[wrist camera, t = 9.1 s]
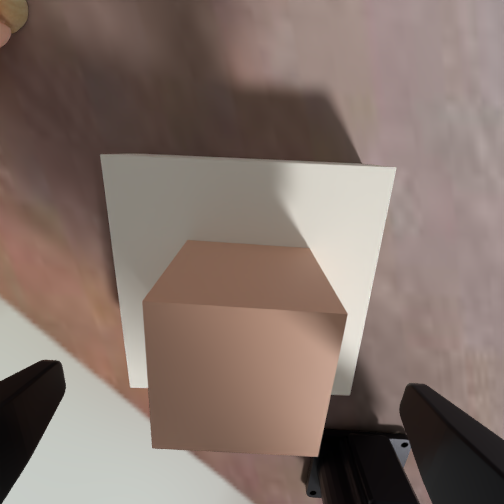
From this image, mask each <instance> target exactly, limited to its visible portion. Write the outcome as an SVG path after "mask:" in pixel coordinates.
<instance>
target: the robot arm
mask: <svg viewBox="0 0 504 504" xmlns="http://www.w3.org/2000/svg"><path fill="white" fill-rule="evenodd" d="M65 389H66V383H65V378H64V373H63V367H62V364H61V362H60V361H56V360H41V361H39V362H37V363H35V364H33V365H31V366H29V367H27V368H26V369H23V370H21V371H20V372H17V373H15V374H14V375H12V376H10V377H8V378H6V379H4V380H2V381H0V504H2V502H3V500H4V499H5V498H6V496H7V495H8V493H9V491H10V490H11V488H12V487H13V485H14V484H15V482H16V481H17V479H18V478H19V476H20V474H21V473H22V471H23V470H24V468H25V466H26V465H27V463H28V461H29V460H30V458H31V456H32V454H33V453H34V451H35V449H36V447H37V445H38V443H39V441H40V440H41V438H42V436H43V434H44V432H45V430H46V428H47V426H48V424H49V422H50V421H51V419H52V417H53V415H54V413H55V411H56V409H57V407H58V405H59V403H60V401H61V400H62V398H63V396H64V393H65ZM399 411H400V416H401V420H402V423H403V425H404V428H405V431H406V434H407V435H405V434H392V433H376V432H360V431H344V430H327V429H324V430H323V435H322V440H321V444H320V449H319V454H318V457H312V458H311V463H310V468H309V473H308V477H307V482H306V494H307V495H308V496H309V497H314V498H322V501H323V504H420V503H419V501H418V498H417V496H416V494H415V492H414V490H413V488H412V486H411V484H410V481H409V479H408V477H407V475H406V473H405V471H404V469H403V468H404V465H405V463H406V460H407V457H408V455H409V452H410V449H412V452H413V455H414V457H415V460H416V463H417V466H418V469H419V472H420V475H421V477H422V480H423V483H424V485H425V487H426V490H427V492H428V494H429V497H430V499H431V501H432V504H504V440H503V439H502V438H500V437H499V436H497V435H496V434H495V433H493V432H492V431H490V430H489V429H488V428H486V427H485V426H483V425H482V424H481V423H479V422H478V421H476V420H475V419H474V418H472V417H471V416H469V415H468V414H467V413H465V412H464V411H462V410H461V409H460V408H458V407H457V406H455V405H454V404H452V403H451V402H450V401H448V400H447V399H445V398H444V397H443V396H441V395H440V394H438V393H437V392H436V391H434V390H433V389H431V388H430V387H429V386H427V385H425V384H418V383H409V384H408V385H407V386H406V388H405V391H404V394H403V397H402V400H401V403H400V408H399Z"/></svg>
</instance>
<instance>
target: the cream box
mask: <svg viewBox="0 0 504 504" xmlns="http://www.w3.org/2000/svg"><path fill="white" fill-rule="evenodd" d="M100 158H101V165H102V173H103V181H104V189H105V196H106V204H107V212H108V220H109V227H110V235H111V243H112V250H113V258H114V266H115V274H116V281H117V289H118V297H119V304H120V312H121V320H122V328H123V335H124V343H125V351H126V359H127V366H128V374H129V382H130V387H133V388H148V379H147V364H146V350H145V335H144V320H143V306H142V301H143V299H144V298H145V297H146V295H147V294H148V293H149V291H150V290H151V289H152V287H153V286H154V285H155V283H156V282H157V281H158V279H159V278H160V276H161V275H162V274H163V272H164V271H165V270H166V268H167V267H168V266H169V264H170V263H171V262H172V260H173V259H174V257H175V256H176V255H177V253H178V252H179V251H180V249H181V248H182V247H183V245H184V244H185V243H186V241H187V240H195V241H210V242H225V243H240V244H255V245H270V246H285V247H300V248H310V250H311V252H312V253H313V255H314V257H315V258H316V260H317V262H318V264H319V265H320V267H321V269H322V270H323V272H324V274H325V276H326V277H327V279H328V281H329V283H330V284H331V286H332V288H333V289H334V291H335V293H336V295H337V296H338V298H339V300H340V301H341V303H342V305H343V307H344V308H345V310H346V312H347V313H348V316H347V321H346V325H345V330H344V335H343V340H342V344H341V349H340V354H339V359H338V363H337V368H336V373H335V378H334V383H333V387H332V392H331V395H350V393H351V388H352V383H353V378H354V373H355V368H356V363H357V358H358V353H359V348H360V344H361V339H362V334H363V329H364V324H365V319H366V314H367V309H368V304H369V300H370V295H371V290H372V285H373V280H374V275H375V270H376V265H377V260H378V256H379V251H380V246H381V241H382V236H383V231H384V226H385V221H386V216H387V211H388V207H389V202H390V197H391V192H392V187H393V182H394V177H395V172H396V167H387V166H378V165H370V164H360V163H337V162H315V161H293V160H270V159H248V158H226V157H203V156H181V155H159V154H100Z"/></svg>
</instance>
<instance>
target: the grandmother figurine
mask: <svg viewBox="0 0 504 504" xmlns="http://www.w3.org/2000/svg"><path fill="white" fill-rule="evenodd" d="M27 17H28V4H27V2H26V0H0V47H2V46H4V45H5V44H6V43H7V42H8V40H9V38H10V36H11V33H15V32H17V31H18V30H19V29H20V28H21V27H22V26H23V25H24V24H25V23H26V21H27Z"/></svg>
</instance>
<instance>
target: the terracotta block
mask: <svg viewBox="0 0 504 504" xmlns="http://www.w3.org/2000/svg"><path fill="white" fill-rule="evenodd" d="M142 306H143V320H144V335H145V350H146V364H147V379H148V394H149V408H150V423H151V437H152V448H155V449H176V450H194V451H213V452H232V453H251V454H270V455H290V456H309V457H318V454H319V449H320V444H321V440H322V435H323V430H324V425H325V421H326V416H327V411H328V406H329V402H330V397H331V392H332V387H333V383H334V378H335V373H336V368H337V363H338V359H339V354H340V349H341V344H342V340H343V335H344V330H345V325H346V321H347V316H348V313H347V312H346V310H345V308H344V307H343V305H342V303H341V301H340V300H339V298H338V296H337V295H336V293H335V291H334V289H333V288H332V286H331V284H330V283H329V281H328V279H327V277H326V276H325V274H324V272H323V270H322V269H321V267H320V265H319V264H318V262H317V260H316V258H315V257H314V255H313V253H312V252H311V250H310V248H300V247H285V246H270V245H255V244H240V243H225V242H210V241H195V240H187V241H186V243H185V244H184V245H183V247H182V248H181V249H180V251H179V252H178V253H177V255H176V256H175V257H174V259H173V260H172V262H171V263H170V264H169V266H168V267H167V268H166V270H165V271H164V272H163V274H162V275H161V276H160V278H159V279H158V281H157V282H156V283H155V285H154V286H153V287H152V289H151V290H150V291H149V293H148V294H147V295H146V297H145V298H144V299H143V301H142Z"/></svg>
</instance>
